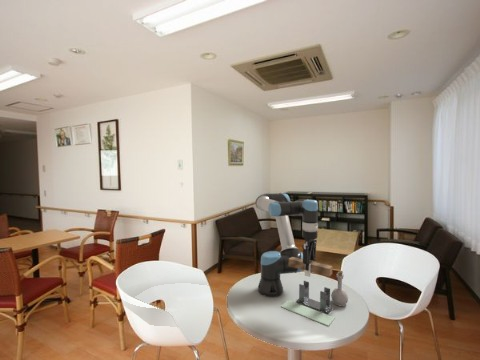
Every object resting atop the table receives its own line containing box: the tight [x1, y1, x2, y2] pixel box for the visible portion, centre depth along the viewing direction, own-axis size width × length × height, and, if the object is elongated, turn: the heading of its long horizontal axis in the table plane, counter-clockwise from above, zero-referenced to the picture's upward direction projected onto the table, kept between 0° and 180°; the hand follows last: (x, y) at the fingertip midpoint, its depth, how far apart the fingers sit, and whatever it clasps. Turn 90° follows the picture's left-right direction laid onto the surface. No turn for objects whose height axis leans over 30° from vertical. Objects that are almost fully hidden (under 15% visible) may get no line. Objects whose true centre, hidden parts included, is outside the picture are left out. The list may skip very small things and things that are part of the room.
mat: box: [280, 299, 336, 327], centre depth 132 cm, size 26×8×1 cm, turn 50°
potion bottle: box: [330, 270, 349, 307], centre depth 141 cm, size 9×9×18 cm
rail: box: [289, 257, 333, 278], centre depth 132 cm, size 22×4×4 cm, turn 52°
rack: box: [295, 280, 334, 315], centre depth 139 cm, size 18×7×10 cm, turn 50°
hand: (309, 274), depth 132 cm, fingers closed on rail, 4 cm apart
